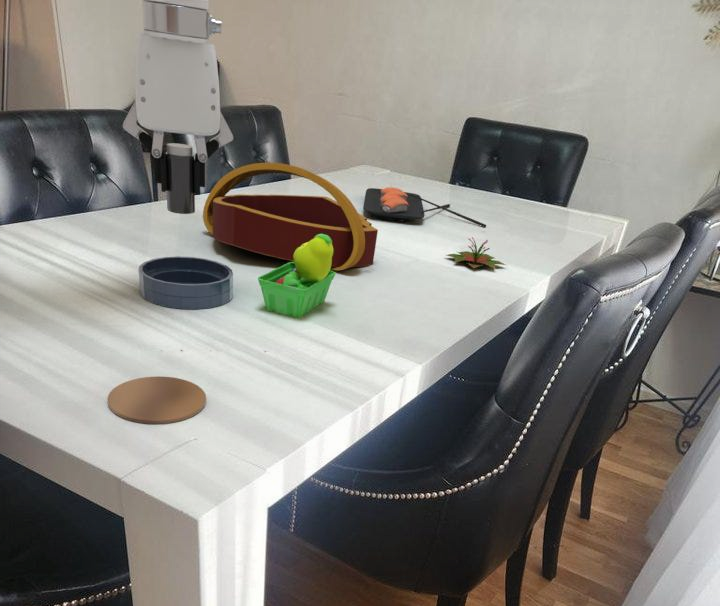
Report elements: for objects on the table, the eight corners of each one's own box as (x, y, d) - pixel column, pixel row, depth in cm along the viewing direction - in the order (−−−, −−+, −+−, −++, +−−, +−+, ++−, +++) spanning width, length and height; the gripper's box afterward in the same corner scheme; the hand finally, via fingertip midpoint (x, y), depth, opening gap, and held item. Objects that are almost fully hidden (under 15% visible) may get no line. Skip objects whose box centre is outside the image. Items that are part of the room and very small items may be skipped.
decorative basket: (396, 273, 124) (413, 189, 118) (307, 279, 101) (321, 175, 94) (260, 234, 138) (269, 157, 132) (155, 232, 115) (158, 139, 108)
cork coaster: (104, 425, 64) (104, 421, 63) (110, 379, 71) (110, 376, 71) (208, 422, 66) (208, 419, 66) (203, 379, 74) (203, 376, 74)
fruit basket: (290, 292, 102) (294, 217, 95) (341, 305, 99) (349, 229, 93) (254, 313, 93) (256, 232, 86) (310, 328, 90) (316, 245, 84)
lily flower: (472, 274, 122) (477, 250, 119) (432, 256, 129) (436, 232, 127) (517, 270, 128) (523, 246, 125) (476, 252, 135) (481, 230, 133)
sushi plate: (365, 194, 173) (367, 179, 171) (476, 209, 174) (479, 193, 172) (361, 218, 149) (363, 201, 147) (490, 235, 150) (493, 218, 148)
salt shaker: (167, 212, 86) (165, 146, 82) (167, 206, 89) (164, 141, 84) (195, 215, 87) (194, 149, 83) (194, 208, 90) (193, 144, 85)
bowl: (139, 312, 88) (137, 283, 86) (142, 281, 98) (140, 254, 96) (236, 314, 92) (236, 286, 89) (228, 284, 102) (228, 258, 100)
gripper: (244, 35, 82) (240, 190, 92) (103, 13, 77) (116, 180, 87) (250, 36, 76) (246, 202, 86) (98, 13, 71) (113, 192, 81)
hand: (180, 189), depth 86 cm, fingers closed on salt shaker, 3 cm apart
